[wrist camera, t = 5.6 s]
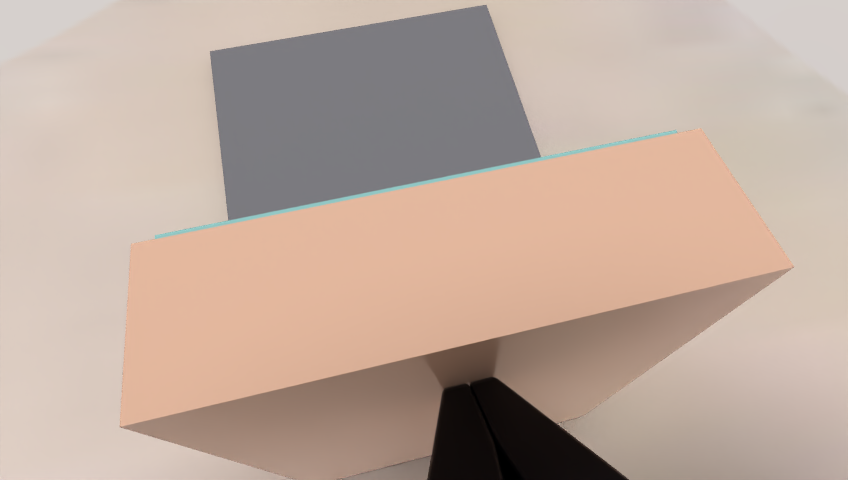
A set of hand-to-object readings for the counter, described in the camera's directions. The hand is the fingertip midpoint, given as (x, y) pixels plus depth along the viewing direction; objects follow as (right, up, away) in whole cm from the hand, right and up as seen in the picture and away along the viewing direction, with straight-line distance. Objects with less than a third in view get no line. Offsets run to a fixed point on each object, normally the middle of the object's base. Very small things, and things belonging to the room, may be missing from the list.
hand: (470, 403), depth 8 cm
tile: (0, -3, +7) cm, 8 cm away
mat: (-2, +5, +10) cm, 11 cm away
